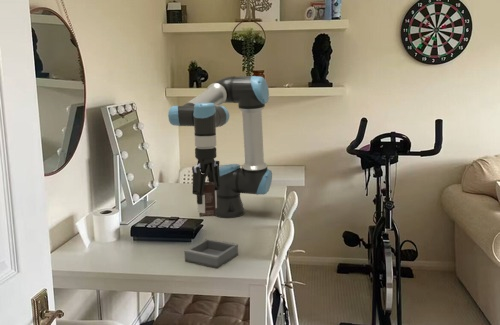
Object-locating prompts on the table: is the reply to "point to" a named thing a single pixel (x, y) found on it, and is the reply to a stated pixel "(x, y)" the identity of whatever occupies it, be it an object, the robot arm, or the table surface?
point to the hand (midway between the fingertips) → (207, 209)
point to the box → (209, 199)
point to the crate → (211, 253)
